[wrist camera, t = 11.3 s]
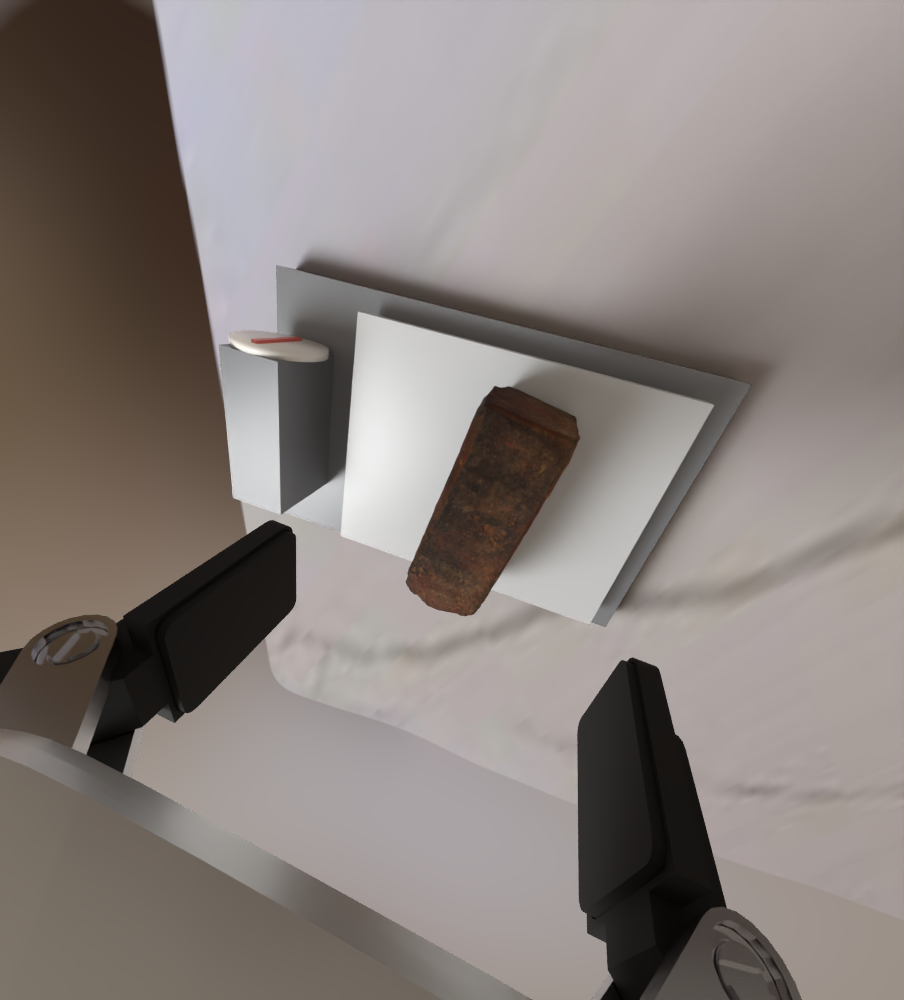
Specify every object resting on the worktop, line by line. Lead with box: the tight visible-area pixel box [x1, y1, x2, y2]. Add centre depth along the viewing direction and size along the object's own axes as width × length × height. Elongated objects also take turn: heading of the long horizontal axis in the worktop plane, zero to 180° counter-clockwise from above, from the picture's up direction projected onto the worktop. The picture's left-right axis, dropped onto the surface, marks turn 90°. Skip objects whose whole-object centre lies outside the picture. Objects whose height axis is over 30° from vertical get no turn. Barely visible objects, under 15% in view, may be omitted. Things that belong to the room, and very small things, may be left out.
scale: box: [219, 265, 751, 627], centre depth 19 cm, size 23×15×6 cm, turn 77°
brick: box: [406, 386, 580, 616], centre depth 17 cm, size 11×4×5 cm, turn 158°
